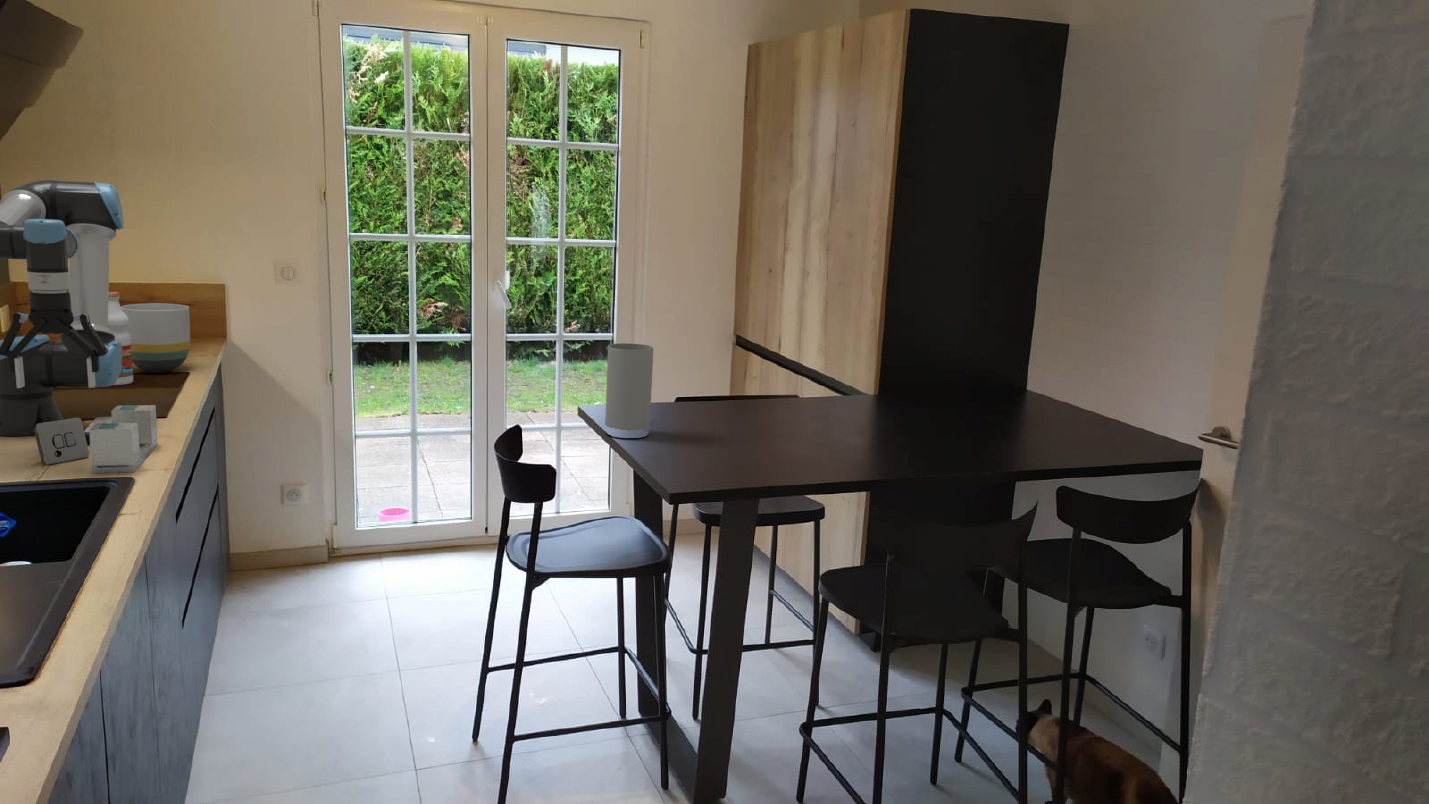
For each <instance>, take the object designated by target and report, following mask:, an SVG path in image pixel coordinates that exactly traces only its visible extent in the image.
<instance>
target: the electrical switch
mask: <svg viewBox="0 0 1429 804" xmlns="http://www.w3.org/2000/svg"><path fill="white" fill-rule="evenodd" d="M84 431H85V430H84V424H83V420H82V419H81V418H80V417H73V418H67V419H63V420H59V421H52V422H46V423H39V424H37V426H36V428H34V433H35V435H34V436H35V441H36V444H37V449H38V452H39V457H40V461H41V463H44V464H45V465H48V466H49V465H55V464H59V463H64V462H69V461H75V460H81V459H85V458H88V457H89V456H90V450H89V447H88V446H89V445H87V442H86V437H85V433H84Z"/></svg>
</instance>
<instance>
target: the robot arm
mask: <svg viewBox="0 0 1429 804" xmlns="http://www.w3.org/2000/svg"><path fill="white" fill-rule="evenodd" d="M124 220H125V219H124V213H123V208H122V202H121V200H120V195H119V193H118V190H117V188H116V187H115V186H114V185H112V184H110V183H104V182H97V181H94V182H93V181H92V182H91V181H88V182H87V181H70V180H69V181H68V180H67V181H66V180H54V179H44V180H36V181H32V182H31V181H30V182H29V183H25V184H22V185H18V186H16V187H14V188H12V189H10V190H9V191H7V193H5V194H4V195H3V196H2V198H1V199H0V259H1V260H26V275H27V284H28V285H27V286H28V290H30V292H29V293H28V299H29V300H28V301H29V310H30V311H29V313H23V312H21V311H18V312H15V313H13V314H12V323H11V326H10V328H9V330H8V332H7V333H6V335H5V337H4V339H1V340H0V436H7V437H24V436H26V437H27V436H35V433H34V428H36V426H37V424H39V423H43V422H52V421H59V420H64V417H63V416H62V413H61V410H60V409H59V407H58V405H57V403H56V401H55V398H54V392H53V388H54V389H57V388H58V389H59V388H60V389H62V388H63V389H64V388H65V389H68V388H71V389H73V388H89V389H90V388H91V389H96V388H105V387H112V386H114V385H113V384H115V382H116V381H117V379H118V377H119V374H120V369H121V364H122V345H121V343H120V342H119V341H115V335H114V334H113V333H112V332H111V331H109V329H108V295H109V292H110V291H109V289H110V287H109V286H110V284H109V281H110V242H111V241H112V240H114V239H115V238H116V237H117V230H118V231H119V230H122V229H124V223H125V221H124ZM68 260H69V261H68ZM27 320H29V322H30V323H31V324H32V327H31V329H30V330H29V331H28V332H27V333H26V335H22V336H20V335H19V336H17V335H18V333H19V331H20V329H21V328H22V326H23V324H25V323H26V322H27ZM39 333H41V334H39ZM50 334H54V335H60V339H59V340H55V341H54V340H50V339H51V338H50V337H49V335H50Z"/></svg>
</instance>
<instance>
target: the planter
mask: <svg viewBox="0 0 1429 804" xmlns="http://www.w3.org/2000/svg"><path fill="white" fill-rule="evenodd" d="M120 306H121V305H120ZM121 309H122V310H123V312H124V313H125V314H126V315H127V316H128V318H129V327H128V332H129V334H130V337H131V349H132V365H134V366H136V367H137V368H139V369H141V370H142V371H146V372H149V373H150V372H151V373H164V372H170V371H173V370H176V369H177V368H179V367H180V366H181V365H183V363H184V362H185V361H187V359H188V355H189V352H190V348H191V347H190V346H191V324H190V323H191V321H190V319H191V318H190V306H189V305H185V304H175V303H135V304H134V303H131V304H125V305H122V306H121Z"/></svg>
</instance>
